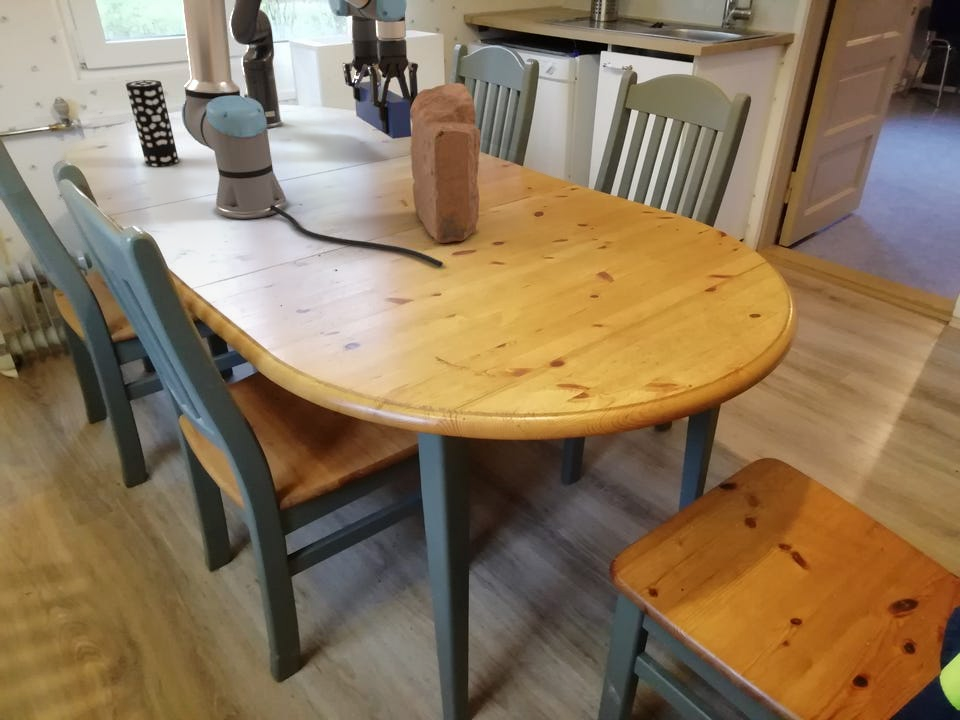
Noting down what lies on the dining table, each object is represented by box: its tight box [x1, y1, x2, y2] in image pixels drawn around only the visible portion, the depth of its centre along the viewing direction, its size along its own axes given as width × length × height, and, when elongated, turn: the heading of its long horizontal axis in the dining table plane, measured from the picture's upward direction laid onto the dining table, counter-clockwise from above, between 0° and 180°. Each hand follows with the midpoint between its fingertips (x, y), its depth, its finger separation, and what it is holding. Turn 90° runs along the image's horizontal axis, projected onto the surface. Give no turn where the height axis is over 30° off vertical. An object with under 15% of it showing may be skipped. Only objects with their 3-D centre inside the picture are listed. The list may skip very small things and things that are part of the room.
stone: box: [410, 82, 482, 244], centre depth 143 cm, size 22×11×28 cm, turn 18°
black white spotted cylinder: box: [125, 79, 179, 167], centre depth 181 cm, size 8×8×20 cm
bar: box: [354, 81, 412, 140], centre depth 194 cm, size 28×5×9 cm, turn 29°
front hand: (396, 131), depth 189 cm, fingers closed on bar, 5 cm apart
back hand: (369, 99), depth 200 cm, fingers open, 6 cm apart
